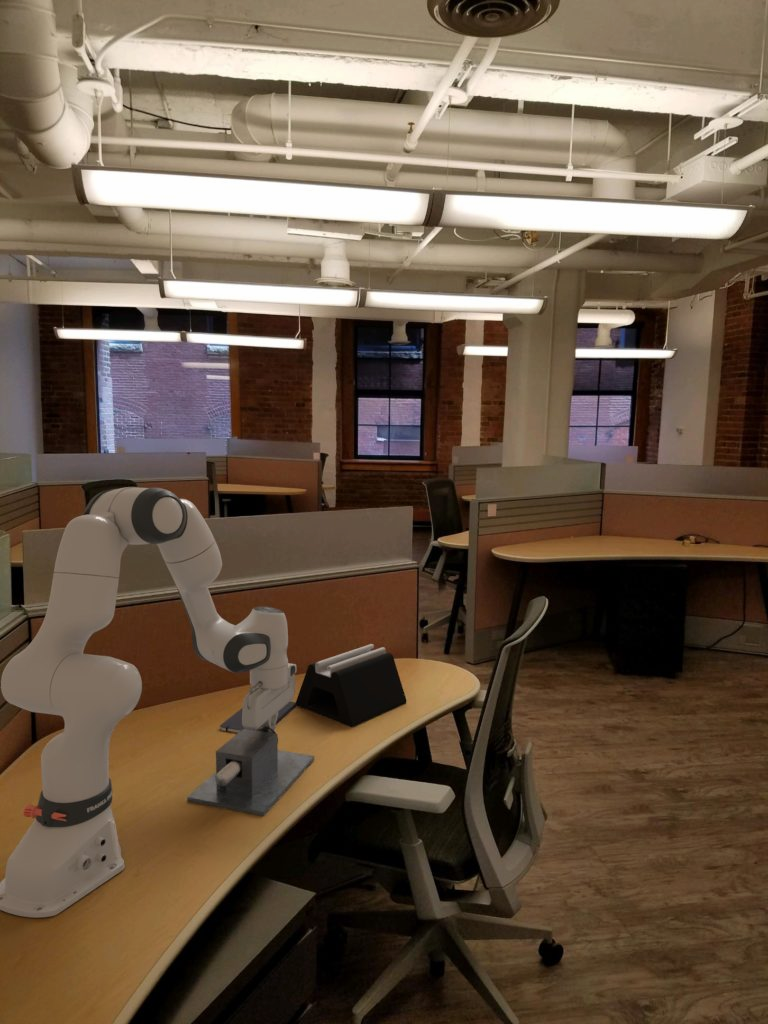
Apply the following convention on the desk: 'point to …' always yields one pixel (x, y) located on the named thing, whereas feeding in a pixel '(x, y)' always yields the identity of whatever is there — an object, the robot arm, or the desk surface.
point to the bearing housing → (252, 774)
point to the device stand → (352, 686)
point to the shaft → (235, 765)
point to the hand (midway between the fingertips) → (269, 732)
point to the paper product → (236, 726)
